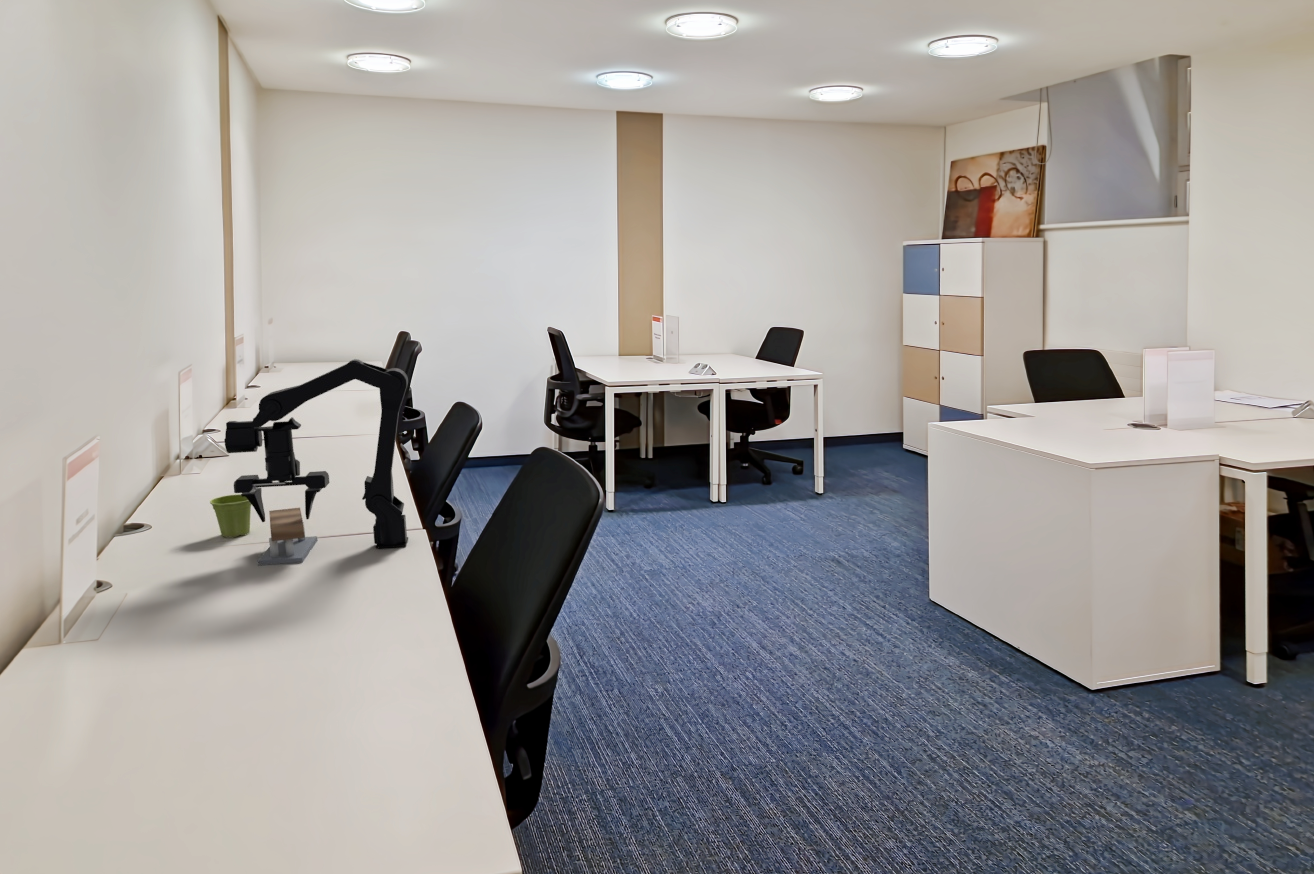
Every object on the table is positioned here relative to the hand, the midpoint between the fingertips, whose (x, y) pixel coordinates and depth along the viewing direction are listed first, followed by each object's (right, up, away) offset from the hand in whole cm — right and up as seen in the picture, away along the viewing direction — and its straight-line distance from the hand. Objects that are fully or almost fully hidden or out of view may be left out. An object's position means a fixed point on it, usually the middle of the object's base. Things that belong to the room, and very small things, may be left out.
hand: (285, 520), depth 207 cm
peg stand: (0, -7, +1) cm, 7 cm away
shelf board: (0, -2, 0) cm, 2 cm away
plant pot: (-19, -5, +17) cm, 26 cm away
